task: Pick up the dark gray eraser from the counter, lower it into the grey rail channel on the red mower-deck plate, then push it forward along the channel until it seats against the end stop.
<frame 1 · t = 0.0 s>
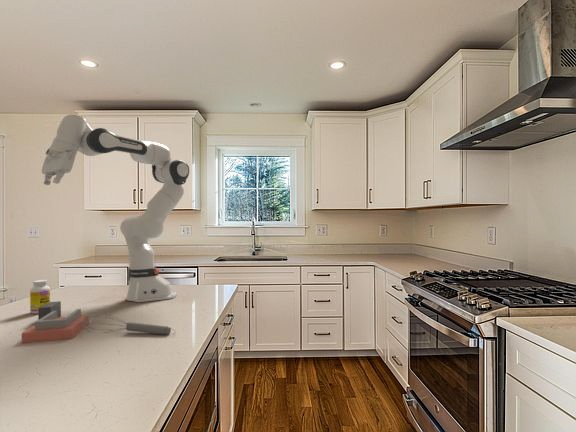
hand: (50, 183, 134), 52 cm above the countertop, tool tilted 20°, fingers open, 8 cm apart
kitchen whisk: (127, 333, 115), on the countertop
supplement bottle: (40, 312, 142), on the countertop
deck: (58, 332, 116), on the countertop
dark gray eraser: (50, 320, 130), on the countertop
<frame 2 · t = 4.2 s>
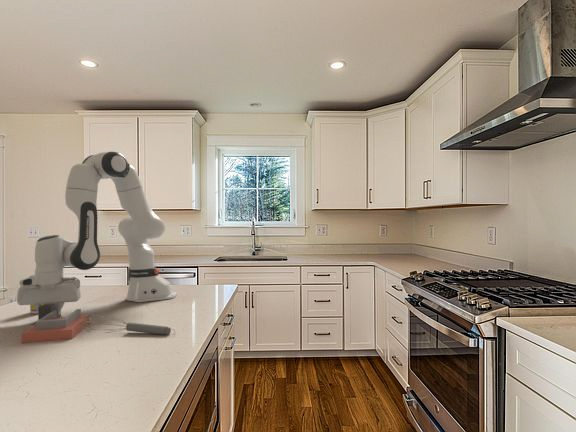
hand: (50, 314, 130), 2 cm above the countertop, tool pointing down, fingers closed on dark gray eraser, 4 cm apart
dark gray eraser: (50, 319, 130), on the countertop, touching gripper
everything else where it was.
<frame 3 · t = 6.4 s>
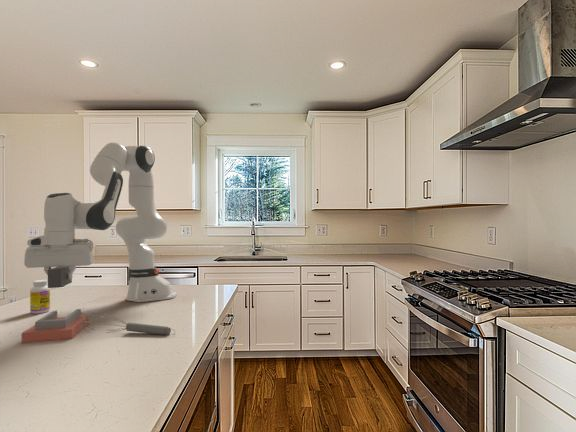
hand: (60, 279, 119), 17 cm above the countertop, tool pointing down, fingers closed on dark gray eraser, 4 cm apart
dark gray eraser: (60, 285, 119), point 15 cm above the countertop, touching gripper
everything else where it was.
when the fingers open (7 cm above the countertop, at t = 8.7 s): dark gray eraser drops 2 cm, resting on deck.
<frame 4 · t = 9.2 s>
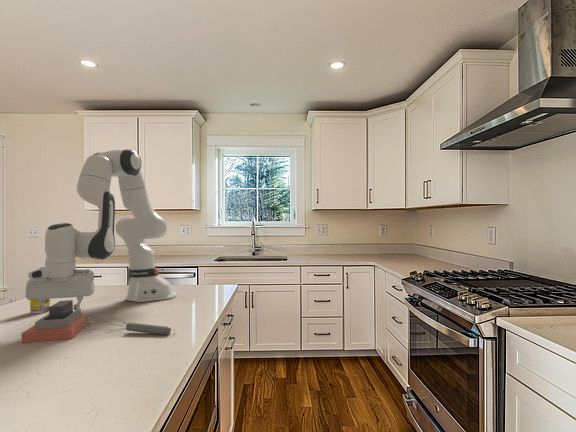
hand: (61, 310, 119), 7 cm above the countertop, tool pointing down, fingers open, 8 cm apart
dark gray eraser: (61, 320, 119), point 3 cm above the countertop, touching deck
everything else where it was.
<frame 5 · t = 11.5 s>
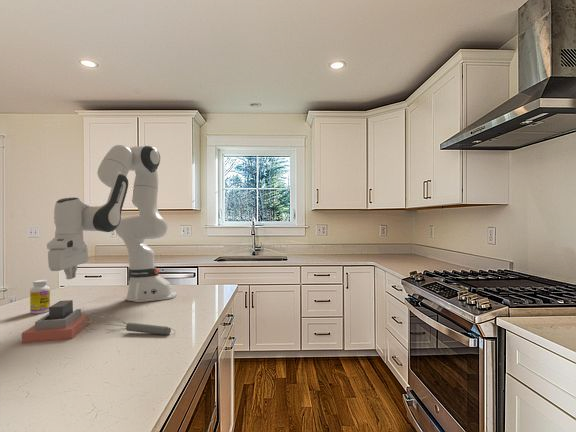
hand: (71, 278, 128), 16 cm above the countertop, tool pointing down, fingers closed
nothing on the countertop moved.
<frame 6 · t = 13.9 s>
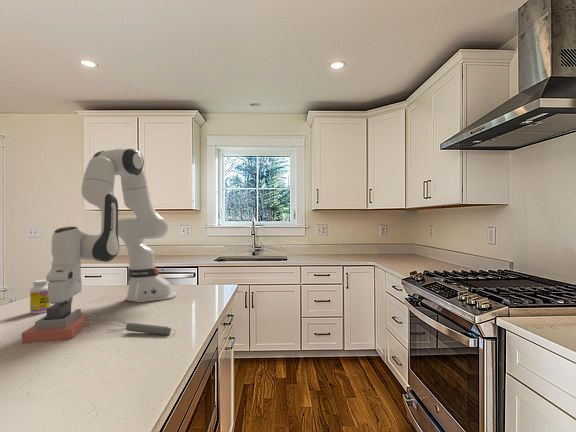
hand: (67, 310, 124), 5 cm above the countertop, tool pointing down, fingers closed
dark gray eraser: (59, 322, 117), point 3 cm above the countertop, touching deck
everything else where it was.
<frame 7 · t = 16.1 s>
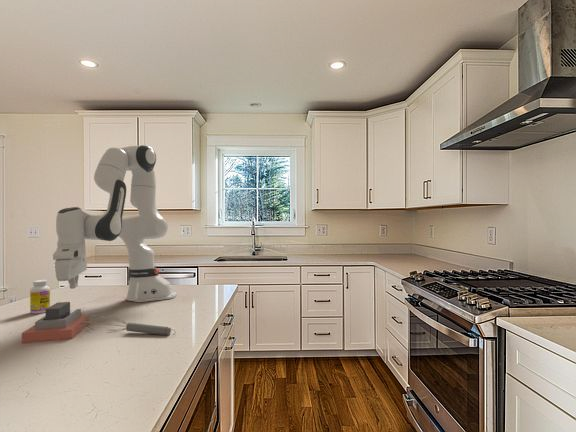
hand: (73, 287, 129), 12 cm above the countertop, tool pointing down, fingers closed
nothing on the countertop moved.
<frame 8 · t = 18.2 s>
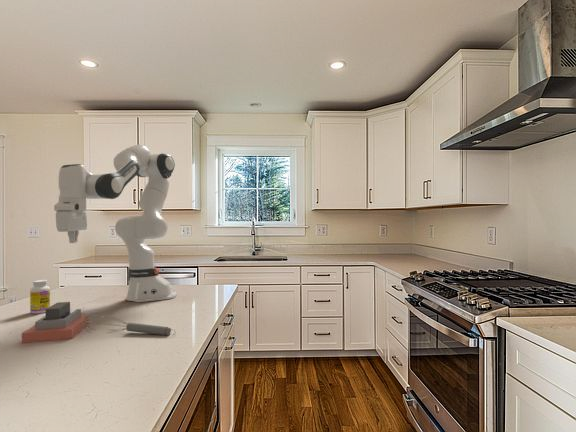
hand: (73, 242, 130), 29 cm above the countertop, tool pointing down, fingers closed
nothing on the countertop moved.
at the end: dark gray eraser 0.0 cm off-centre on the deck, point 3.0 cm above the deck's base; dark gray eraser tilted 0°; the gripper is holding nothing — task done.
